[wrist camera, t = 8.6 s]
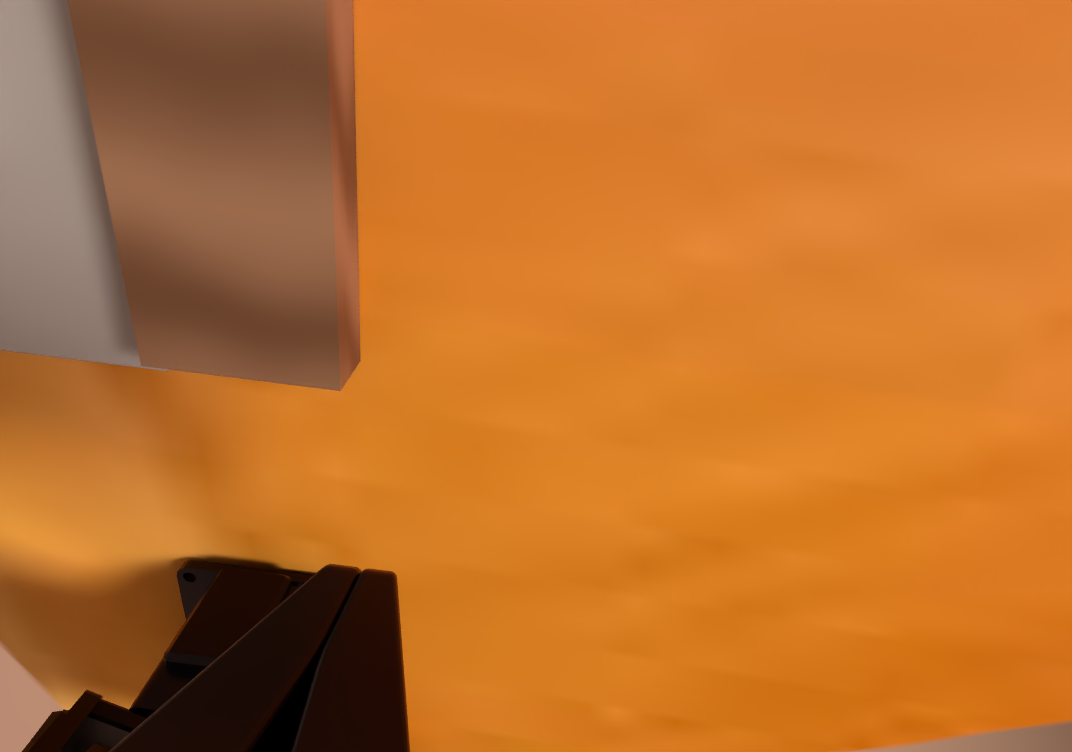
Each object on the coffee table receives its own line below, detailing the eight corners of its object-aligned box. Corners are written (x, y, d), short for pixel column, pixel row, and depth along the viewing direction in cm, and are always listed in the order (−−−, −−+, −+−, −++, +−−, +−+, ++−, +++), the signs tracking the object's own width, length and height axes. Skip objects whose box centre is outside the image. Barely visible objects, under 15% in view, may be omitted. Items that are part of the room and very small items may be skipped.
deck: (360, 360, 21) (340, 391, 20) (177, 337, 21) (141, 365, 20) (346, -316, 14) (312, -367, 12) (61, -352, 14) (-15, -408, 12)
